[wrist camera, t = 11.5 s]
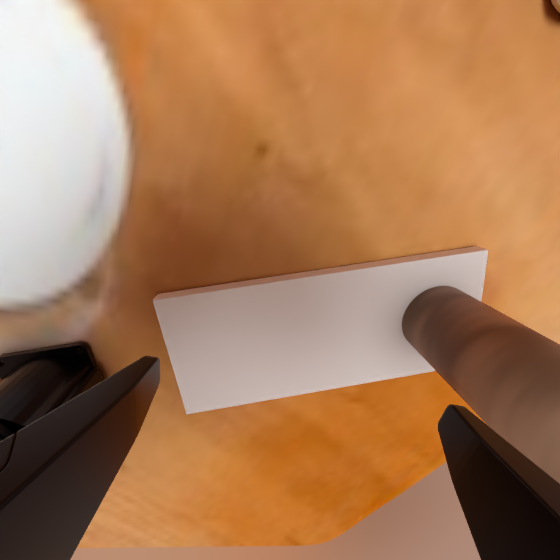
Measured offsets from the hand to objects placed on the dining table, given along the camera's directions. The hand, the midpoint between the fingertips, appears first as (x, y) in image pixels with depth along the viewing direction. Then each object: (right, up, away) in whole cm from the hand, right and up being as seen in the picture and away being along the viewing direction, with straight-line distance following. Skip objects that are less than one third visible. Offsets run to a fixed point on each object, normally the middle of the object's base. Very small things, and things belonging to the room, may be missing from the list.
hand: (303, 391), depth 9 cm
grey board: (+3, 0, +14) cm, 15 cm away
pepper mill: (+11, 0, +14) cm, 18 cm away
